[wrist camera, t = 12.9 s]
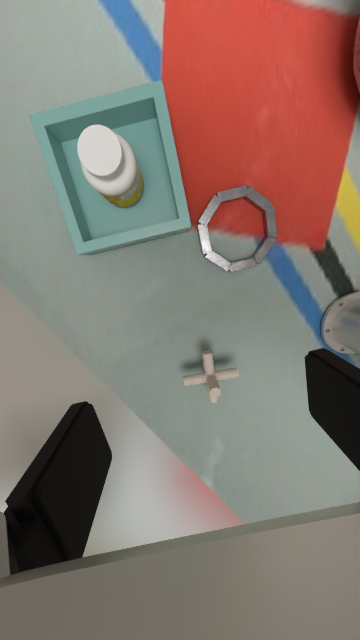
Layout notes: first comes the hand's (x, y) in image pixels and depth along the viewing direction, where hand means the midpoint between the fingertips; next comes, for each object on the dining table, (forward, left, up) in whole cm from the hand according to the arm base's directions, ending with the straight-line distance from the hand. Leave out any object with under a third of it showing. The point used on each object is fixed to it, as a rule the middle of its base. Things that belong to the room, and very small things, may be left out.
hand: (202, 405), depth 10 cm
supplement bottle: (+5, -19, -32) cm, 38 cm away
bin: (+5, -19, -33) cm, 39 cm away
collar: (-12, -8, -33) cm, 36 cm away
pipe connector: (-2, +16, -34) cm, 37 cm away
